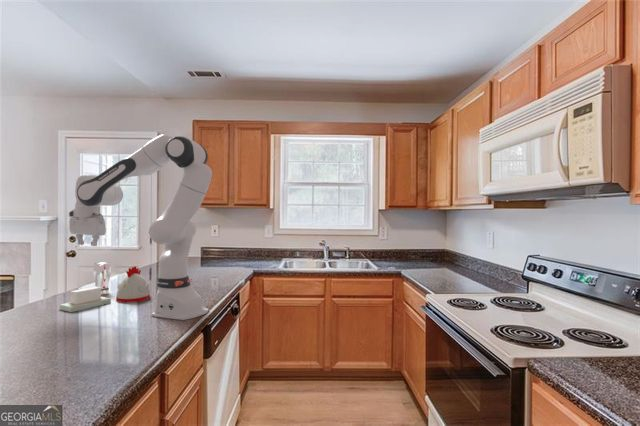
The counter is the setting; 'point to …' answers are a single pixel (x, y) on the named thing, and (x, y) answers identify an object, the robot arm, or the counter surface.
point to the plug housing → (86, 295)
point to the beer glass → (102, 275)
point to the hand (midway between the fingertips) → (87, 245)
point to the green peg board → (84, 305)
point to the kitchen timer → (133, 287)
